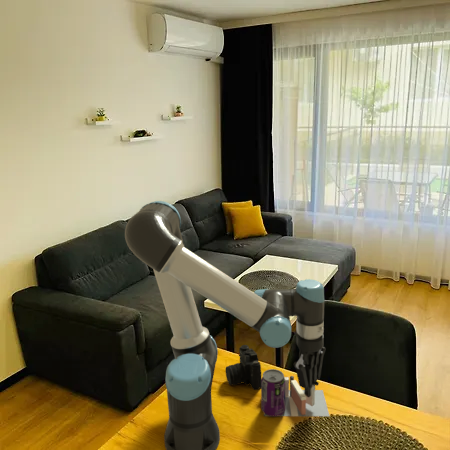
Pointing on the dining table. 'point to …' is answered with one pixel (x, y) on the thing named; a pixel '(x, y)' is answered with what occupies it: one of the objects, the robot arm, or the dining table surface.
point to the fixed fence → (288, 385)
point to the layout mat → (314, 410)
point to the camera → (245, 369)
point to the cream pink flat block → (298, 397)
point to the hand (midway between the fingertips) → (309, 403)
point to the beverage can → (273, 392)
